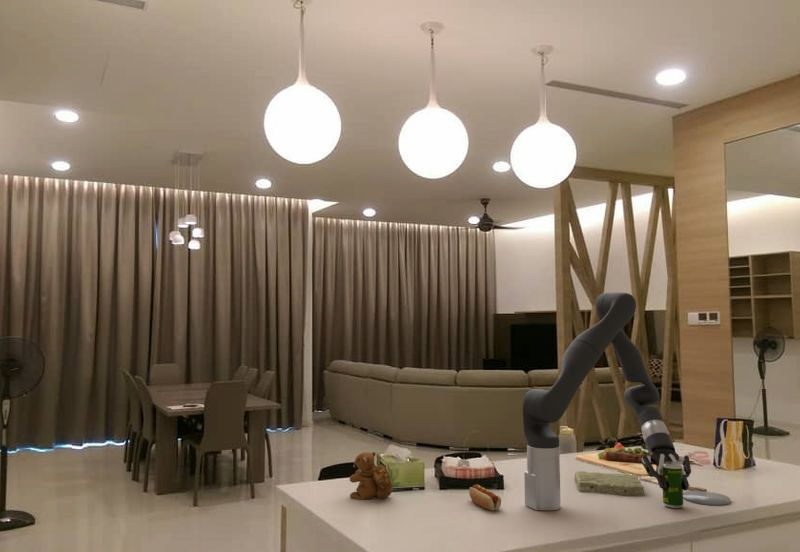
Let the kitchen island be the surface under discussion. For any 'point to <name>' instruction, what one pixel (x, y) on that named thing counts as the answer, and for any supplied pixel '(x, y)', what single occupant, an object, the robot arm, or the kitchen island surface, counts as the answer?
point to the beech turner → (654, 480)
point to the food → (484, 498)
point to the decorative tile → (609, 483)
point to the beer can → (673, 484)
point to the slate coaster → (706, 498)
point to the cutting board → (619, 460)
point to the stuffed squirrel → (370, 478)
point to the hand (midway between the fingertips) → (675, 488)
